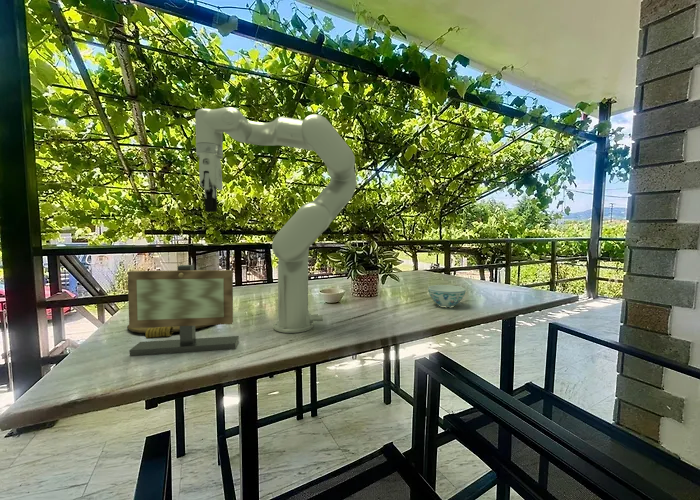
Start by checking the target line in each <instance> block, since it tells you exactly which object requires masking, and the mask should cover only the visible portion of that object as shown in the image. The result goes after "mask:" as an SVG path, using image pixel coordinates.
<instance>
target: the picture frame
mask: <svg viewBox="0 0 700 500" xmlns="http://www.w3.org/2000/svg"><path fill="white" fill-rule="evenodd" d="M233 275H234V273H233V269H209V270H207V269H203V270H202V269H201V270H200V269H199V270H198V269H195V270H179V271H178V270H129V271H127V293H128V300H127V301H128V325H129V328H148V327H172V326H196V325H210V326H214V325H215V326H217V325H218V326H219V325H221V326H222V325H233V323H234V291H233V290H234V286H233V285H234V282H233V281H234V278H233V277H234V276H233Z"/></svg>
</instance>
